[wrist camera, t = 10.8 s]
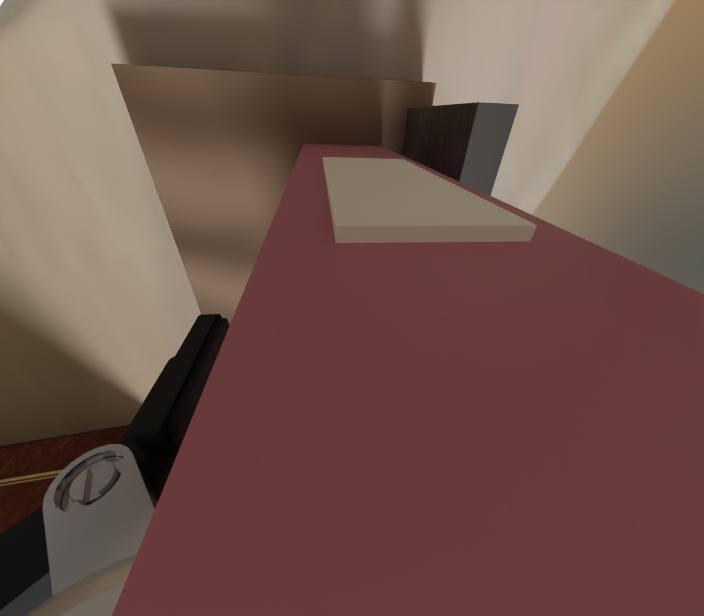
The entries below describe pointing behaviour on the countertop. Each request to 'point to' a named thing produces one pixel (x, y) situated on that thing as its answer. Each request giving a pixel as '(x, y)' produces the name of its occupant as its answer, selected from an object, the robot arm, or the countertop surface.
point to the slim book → (436, 418)
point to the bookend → (460, 140)
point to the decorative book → (41, 469)
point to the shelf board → (246, 153)
